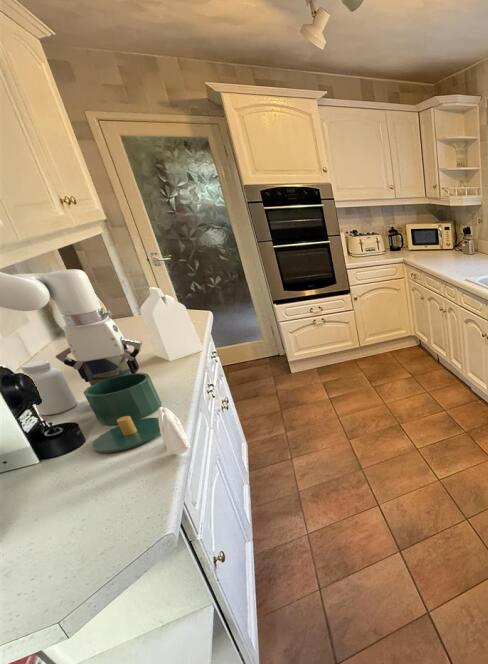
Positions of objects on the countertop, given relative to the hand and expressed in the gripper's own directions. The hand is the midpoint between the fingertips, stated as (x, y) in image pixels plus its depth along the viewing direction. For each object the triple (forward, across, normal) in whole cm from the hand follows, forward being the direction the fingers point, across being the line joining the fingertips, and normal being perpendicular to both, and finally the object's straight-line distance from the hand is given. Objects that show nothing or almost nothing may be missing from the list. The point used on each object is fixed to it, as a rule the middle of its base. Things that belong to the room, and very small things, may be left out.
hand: (113, 376), depth 110 cm
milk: (+12, -4, -48) cm, 50 cm away
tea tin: (+12, 0, 0) cm, 12 cm away
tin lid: (+12, -4, +16) cm, 20 cm away
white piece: (+12, -16, +28) cm, 34 cm away
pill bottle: (+12, +20, -14) cm, 27 cm away
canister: (+12, +6, -14) cm, 20 cm away
